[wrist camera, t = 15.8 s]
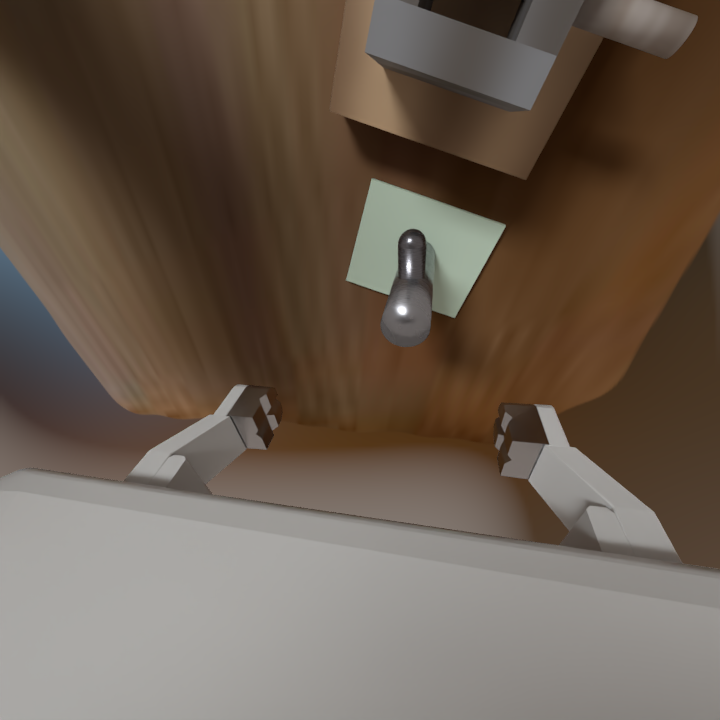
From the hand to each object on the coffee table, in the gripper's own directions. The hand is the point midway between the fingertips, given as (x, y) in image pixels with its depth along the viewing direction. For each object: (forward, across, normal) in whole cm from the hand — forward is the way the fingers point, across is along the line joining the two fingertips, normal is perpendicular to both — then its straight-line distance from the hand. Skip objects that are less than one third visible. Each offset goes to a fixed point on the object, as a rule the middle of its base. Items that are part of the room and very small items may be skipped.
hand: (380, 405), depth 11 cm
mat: (+17, -1, +1) cm, 17 cm away
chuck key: (+17, -1, +1) cm, 17 cm away
